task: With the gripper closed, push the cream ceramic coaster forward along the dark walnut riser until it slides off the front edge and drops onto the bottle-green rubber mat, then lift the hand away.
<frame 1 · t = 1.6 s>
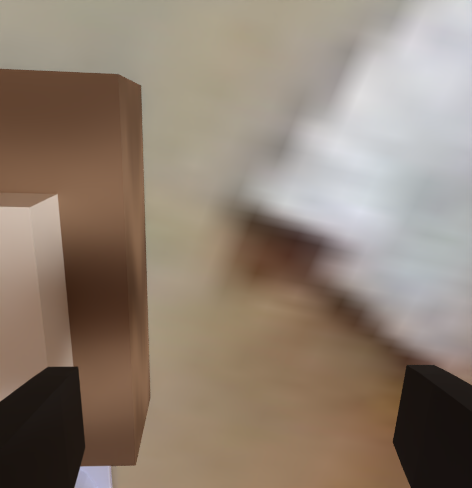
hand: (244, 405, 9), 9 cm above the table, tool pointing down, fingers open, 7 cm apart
riser: (38, 258, 17), on the table
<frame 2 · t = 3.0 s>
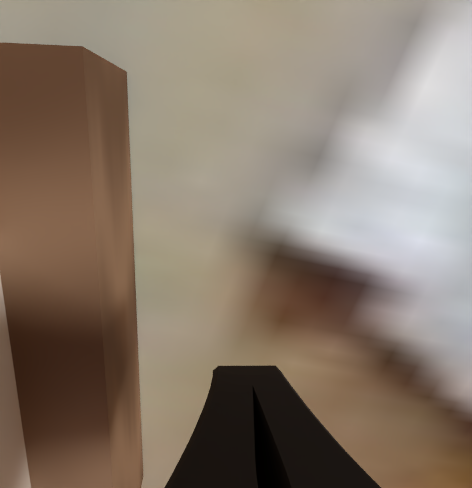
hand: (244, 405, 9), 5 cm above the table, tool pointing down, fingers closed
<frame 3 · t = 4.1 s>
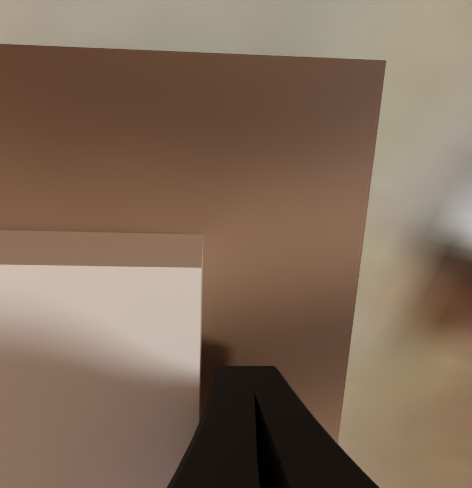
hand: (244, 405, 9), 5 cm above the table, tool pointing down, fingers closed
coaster: (68, 379, 9), point 4 cm above the table, touching gripper
riser: (171, 305, 13), on the table
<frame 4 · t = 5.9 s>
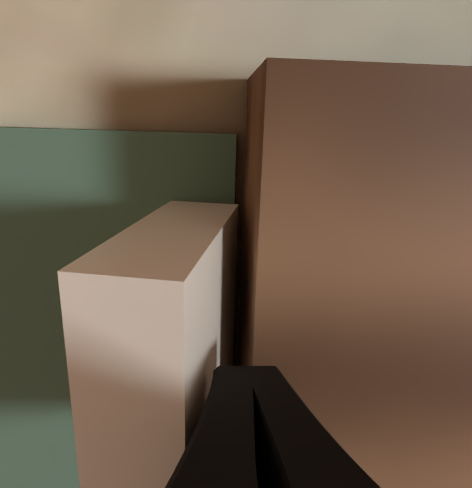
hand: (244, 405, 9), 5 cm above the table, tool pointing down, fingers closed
mat: (84, 334, 13), on the table
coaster: (217, 369, 10), point 4 cm above the table, tilted 102°, touching gripper, mat
riser: (372, 306, 14), on the table
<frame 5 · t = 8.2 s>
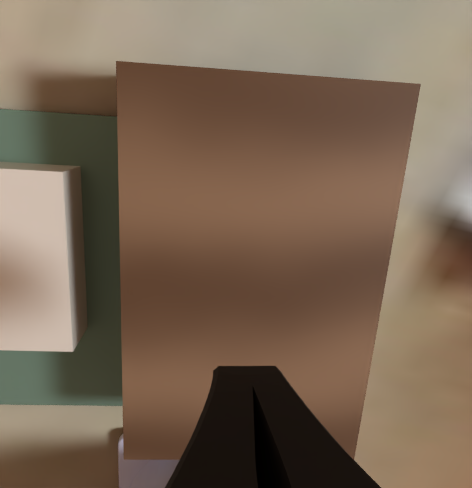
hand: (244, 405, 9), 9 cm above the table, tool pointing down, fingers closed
mat: (18, 270, 17), on the table
riser: (245, 256, 18), on the table
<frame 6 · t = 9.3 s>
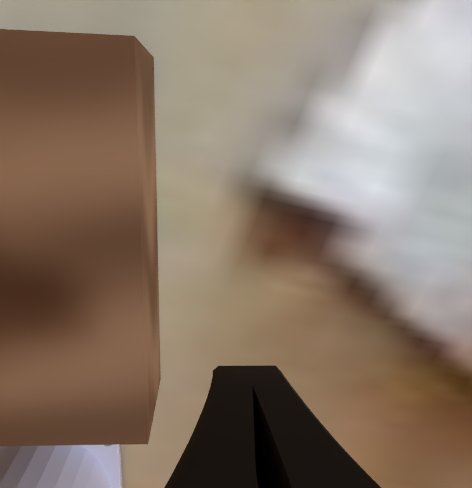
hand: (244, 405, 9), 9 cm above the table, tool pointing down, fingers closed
riser: (47, 235, 17), on the table
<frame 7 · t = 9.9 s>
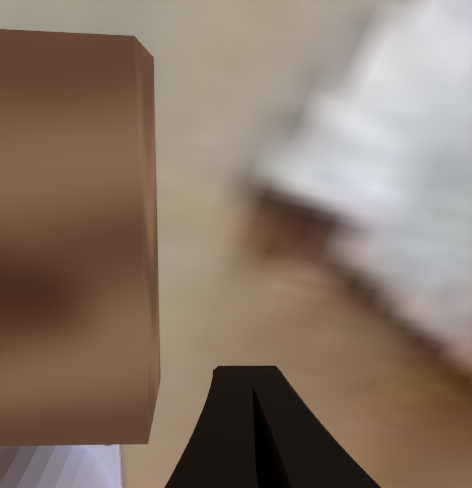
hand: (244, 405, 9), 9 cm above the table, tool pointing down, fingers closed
riser: (47, 235, 17), on the table
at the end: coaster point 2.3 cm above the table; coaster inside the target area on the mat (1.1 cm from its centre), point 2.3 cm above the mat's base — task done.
